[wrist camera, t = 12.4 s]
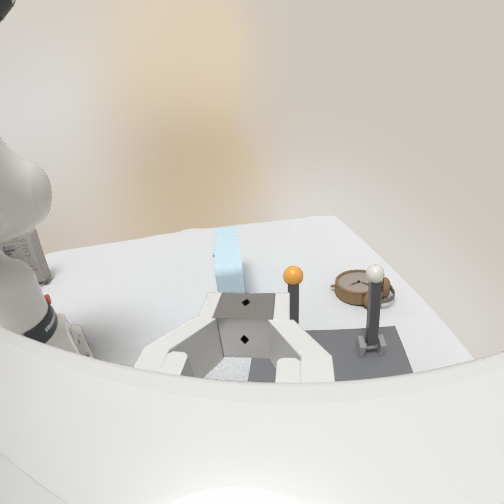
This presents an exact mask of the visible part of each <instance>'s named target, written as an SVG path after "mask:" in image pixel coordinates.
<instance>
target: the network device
mask: <svg viewBox="0 0 504 504" xmlns="http://www.w3.org/2000/svg"><path fill="white" fill-rule="evenodd" d="M0 250H1V251H2V252H3V253H4V254H5V255H7V256H9V257H11V258H14V259H19V260H22V261H24V262H26V263H27V264H28V265H29V266H30V267H31V268H32V269H33V271H34V273H35V275H36V278H37V280H38V282H41V283H40V288H41V287H42V286H43V285H44V284H45V283H46V281H47V278H48V277H49V276H50V271H49V268H48V265H47V262H46V259H45V256H44V254H43V250H42V247H41V244H40V241H39V238H38V234H37V231H36V229H35V228H32V229H30V230H29V231H27V232H26V233H24V234H22V235H19V236H17V237H14V238H12V239H9V240H7V241H4V242H2V243H0Z"/></svg>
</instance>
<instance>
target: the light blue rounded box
mask: <svg viewBox="0 0 504 504" xmlns="http://www.w3.org/2000/svg"><path fill="white" fill-rule="evenodd" d="M212 254H213V257H215V276H216V283H217V289H218V292H222V293H223V292H226V293H245V287H244V277H243V268H242V261H241V255H240V249H239V243H238V236H237V230H236V226H230V227H220V228H216V239H215V250H212Z"/></svg>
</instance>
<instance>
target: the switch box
mask: <svg viewBox="0 0 504 504" xmlns="http://www.w3.org/2000/svg"><path fill="white" fill-rule="evenodd" d="M306 332H307V333H308V334H309V335H310V336H311V337H312V338H313V339H314V340H315V341H316V342H317V343H318V344H319V345H320V346H321V347H323V348H324V349H325V350H326V351H327V352H328V353H329V354H330V355H331V356H332V362H333V370H334V378H335V381H350V380H362V379H372V378H381V377H389V376H396V375H403V374H410V373H413V371H412V368H411V366H410V363H409V360H408V358H407V355H406V352H405V350H404V347H403V345H402V342H401V340H400V337H399V335H398V333H397V330H396V328H395V326H389V327H379V329H378V340H377V343H378V348H377V349H373V350H366V345H365V343H366V342H365V337H366V328H361V329H342V330H311V331H306ZM275 379H276V368H275V366H274V365H273V363H272V362H271V360H270V359H265V358H252V360H251V366H250V372H249V378H248V382H275Z"/></svg>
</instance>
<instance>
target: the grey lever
mask: <svg viewBox="0 0 504 504" xmlns="http://www.w3.org/2000/svg"><path fill="white" fill-rule="evenodd" d="M383 278H384V270H383V269H382V267H381V266H379V265H371V266H370V267H368V269H367V270H366V279H367V281H368V309H367V325H366V337H365V342H366V343H365V345H366V350H373V349H377V348H378V343H377V340H378V329H379V317H380V300H381V281H382V280H383Z"/></svg>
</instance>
